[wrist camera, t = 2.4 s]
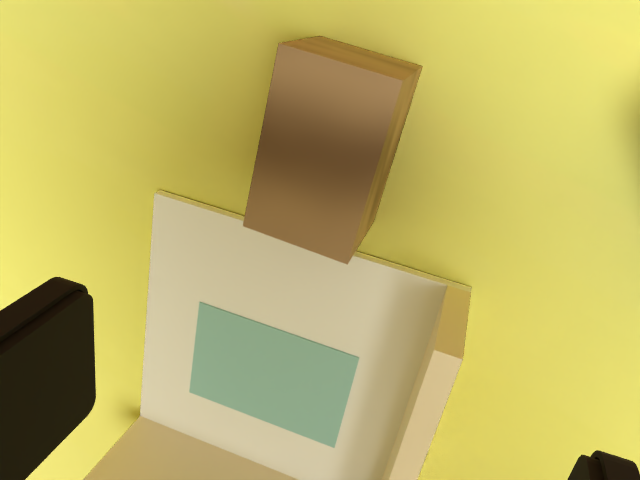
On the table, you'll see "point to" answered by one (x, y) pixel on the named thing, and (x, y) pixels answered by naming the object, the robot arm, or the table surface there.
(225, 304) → the arena
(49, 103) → the table surface
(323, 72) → the block
